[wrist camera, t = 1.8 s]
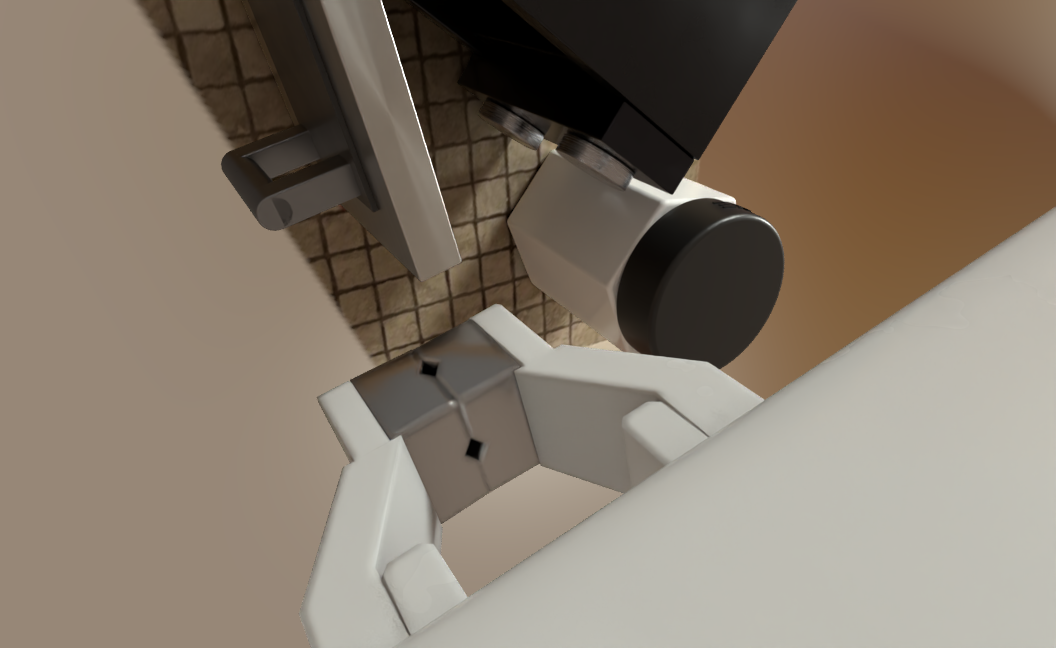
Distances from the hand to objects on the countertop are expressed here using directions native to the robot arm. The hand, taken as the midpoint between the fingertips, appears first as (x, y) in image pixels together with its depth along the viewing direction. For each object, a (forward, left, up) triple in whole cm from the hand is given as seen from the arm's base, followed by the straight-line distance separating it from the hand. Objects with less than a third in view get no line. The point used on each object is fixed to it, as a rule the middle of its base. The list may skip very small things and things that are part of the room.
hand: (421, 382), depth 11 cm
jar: (+20, +4, -23) cm, 31 cm away
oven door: (+1, +2, -23) cm, 23 cm away
